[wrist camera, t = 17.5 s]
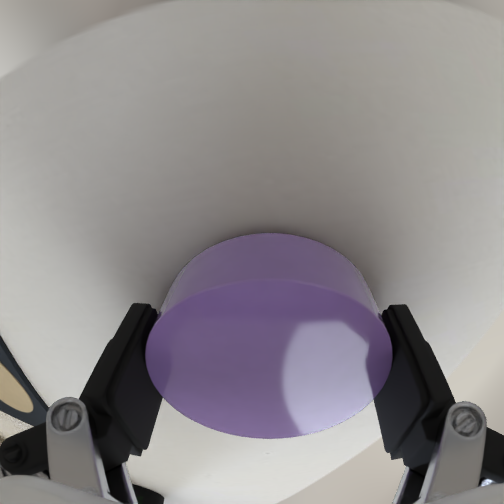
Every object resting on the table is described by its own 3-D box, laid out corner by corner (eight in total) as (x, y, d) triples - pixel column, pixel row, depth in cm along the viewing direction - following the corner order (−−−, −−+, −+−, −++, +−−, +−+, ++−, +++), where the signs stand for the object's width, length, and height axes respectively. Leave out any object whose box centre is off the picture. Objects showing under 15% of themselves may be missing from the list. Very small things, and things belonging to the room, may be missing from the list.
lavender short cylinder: (154, 225, 9) (114, 275, 7) (385, 225, 9) (424, 277, 6) (187, 376, 13) (173, 432, 10) (350, 377, 12) (361, 434, 10)
